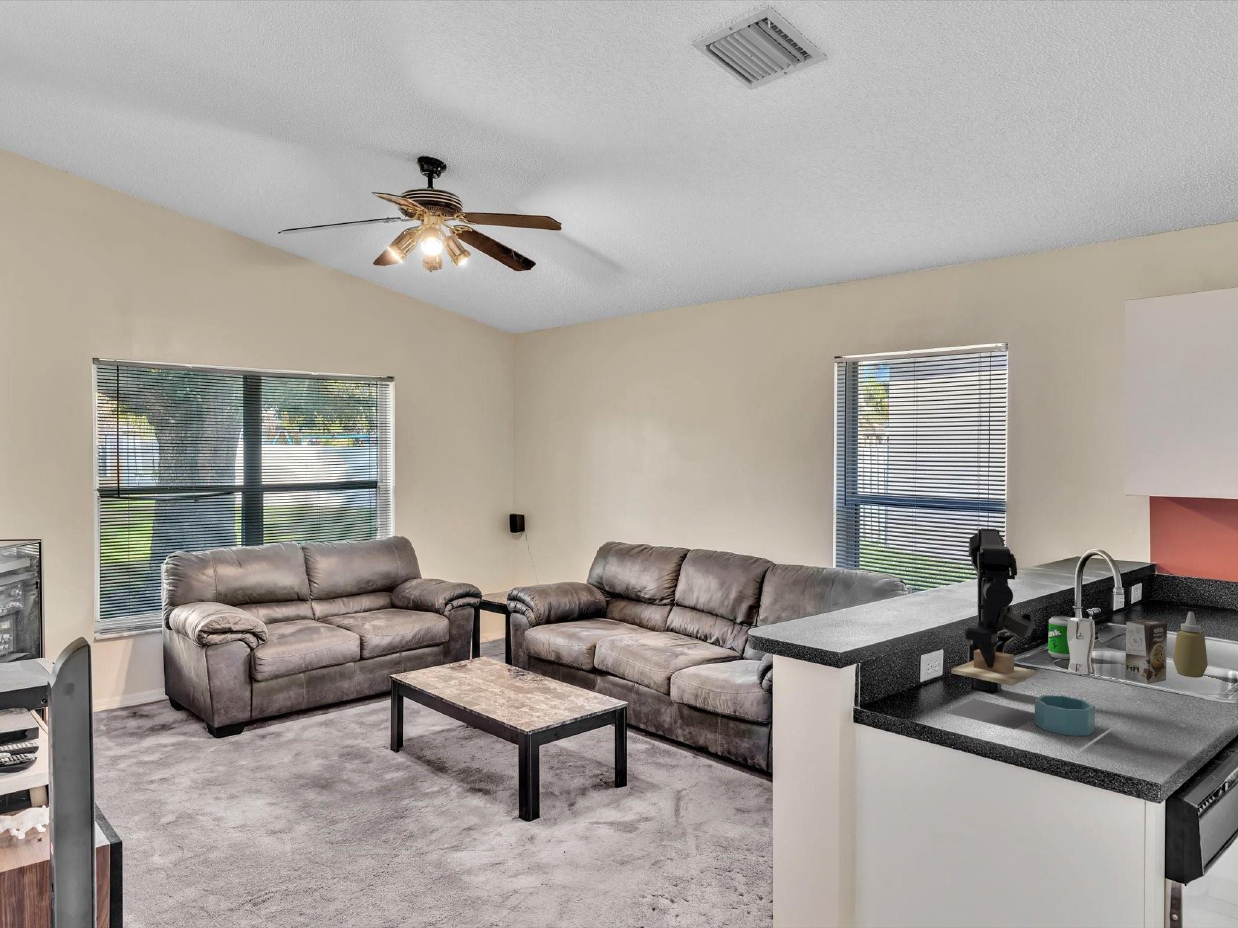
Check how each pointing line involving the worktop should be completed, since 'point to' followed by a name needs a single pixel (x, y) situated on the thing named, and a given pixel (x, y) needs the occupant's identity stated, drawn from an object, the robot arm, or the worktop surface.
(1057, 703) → the bowl
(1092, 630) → the white tall piece
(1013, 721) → the mat
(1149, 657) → the cookie box
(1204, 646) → the squeeze bottle
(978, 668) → the lid
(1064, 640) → the soda can
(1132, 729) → the worktop surface
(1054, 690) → the worktop surface
